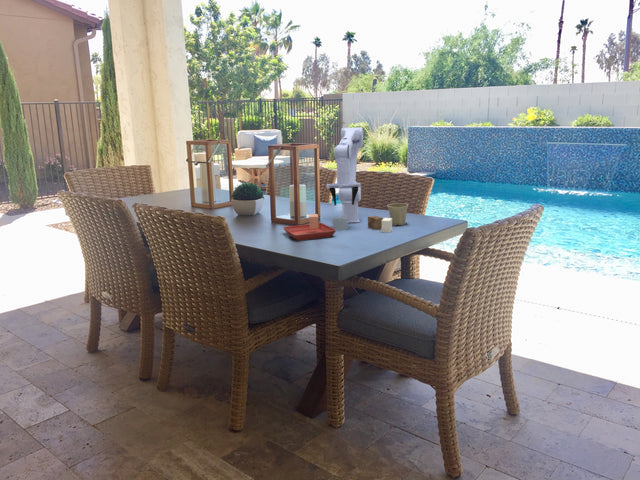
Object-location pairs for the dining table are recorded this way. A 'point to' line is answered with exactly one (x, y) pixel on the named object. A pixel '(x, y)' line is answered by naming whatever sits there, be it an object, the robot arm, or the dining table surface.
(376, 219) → the walnut brick
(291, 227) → the plant saucer
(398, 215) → the flower pot
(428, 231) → the dining table surface
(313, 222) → the terracotta brick
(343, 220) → the slate-blue brick
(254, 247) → the dining table surface
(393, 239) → the dining table surface
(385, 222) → the cream brick
